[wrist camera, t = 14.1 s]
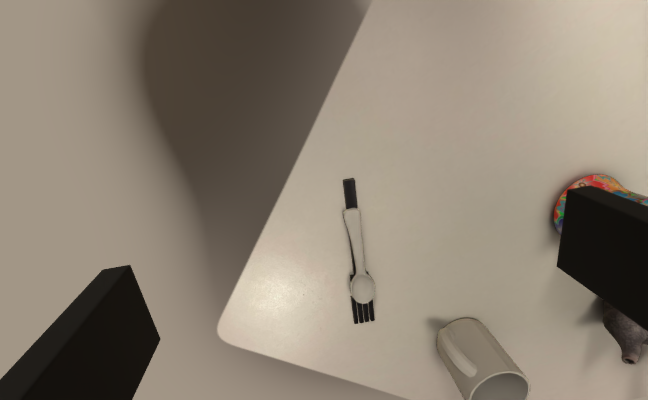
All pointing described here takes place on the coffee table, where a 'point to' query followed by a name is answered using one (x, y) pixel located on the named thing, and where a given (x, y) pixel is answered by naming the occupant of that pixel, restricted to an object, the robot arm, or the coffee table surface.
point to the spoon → (358, 259)
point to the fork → (352, 203)
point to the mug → (599, 182)
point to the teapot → (625, 333)
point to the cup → (480, 363)
